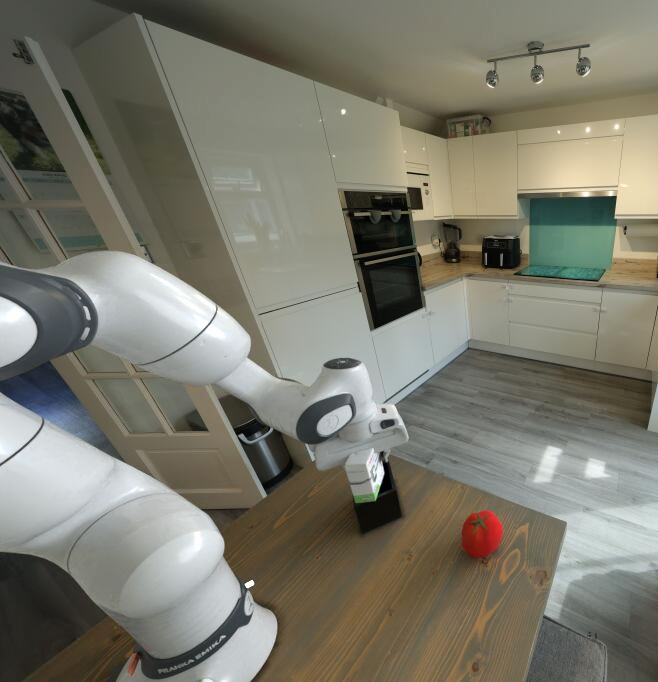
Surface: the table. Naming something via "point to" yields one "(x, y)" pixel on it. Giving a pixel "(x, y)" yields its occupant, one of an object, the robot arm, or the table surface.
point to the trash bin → (380, 504)
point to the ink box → (364, 475)
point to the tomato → (481, 534)
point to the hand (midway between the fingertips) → (369, 466)
